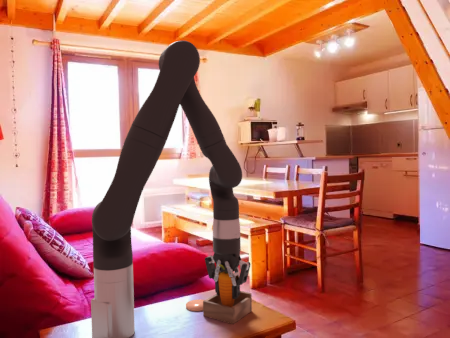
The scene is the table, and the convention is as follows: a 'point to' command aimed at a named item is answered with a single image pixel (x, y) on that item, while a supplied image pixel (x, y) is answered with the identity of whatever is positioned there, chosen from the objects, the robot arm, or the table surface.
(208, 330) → the table surface
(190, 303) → the peach dome
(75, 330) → the table surface
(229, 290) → the carrot
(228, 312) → the brown open box
